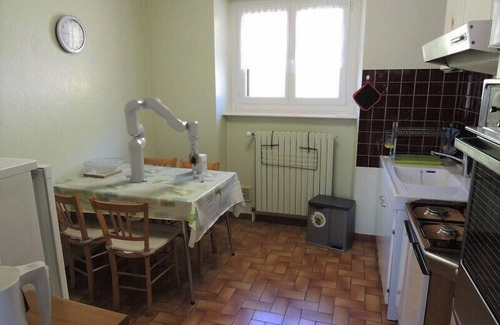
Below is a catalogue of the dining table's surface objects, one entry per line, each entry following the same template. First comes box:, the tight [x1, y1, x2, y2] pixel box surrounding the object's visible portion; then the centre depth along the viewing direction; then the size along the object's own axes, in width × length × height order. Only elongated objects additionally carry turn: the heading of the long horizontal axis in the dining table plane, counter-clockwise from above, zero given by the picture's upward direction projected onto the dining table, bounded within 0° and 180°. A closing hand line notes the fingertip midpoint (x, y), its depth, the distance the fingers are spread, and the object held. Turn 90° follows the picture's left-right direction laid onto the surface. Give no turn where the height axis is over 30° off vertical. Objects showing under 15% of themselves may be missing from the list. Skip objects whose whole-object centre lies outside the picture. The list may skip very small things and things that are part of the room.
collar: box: [188, 153, 200, 165], centre depth 259 cm, size 7×7×6 cm
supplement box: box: [191, 153, 208, 174], centre depth 281 cm, size 9×9×15 cm
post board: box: [172, 172, 206, 183], centre depth 263 cm, size 22×18×6 cm
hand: (194, 161), depth 259 cm, fingers closed on collar, 7 cm apart
